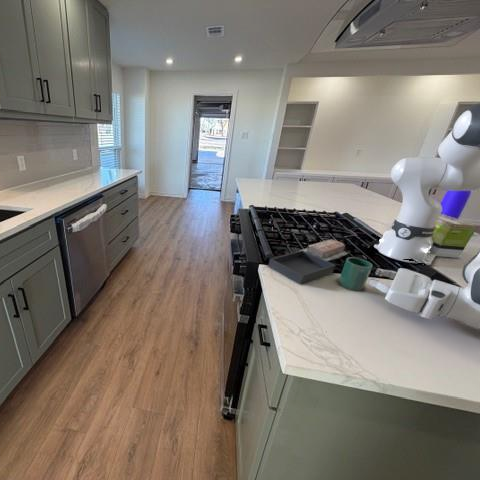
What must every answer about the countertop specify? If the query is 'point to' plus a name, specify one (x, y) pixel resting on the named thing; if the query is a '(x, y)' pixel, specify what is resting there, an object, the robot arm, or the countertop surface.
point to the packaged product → (327, 250)
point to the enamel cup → (355, 273)
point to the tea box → (451, 236)
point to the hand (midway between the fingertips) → (373, 276)
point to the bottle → (454, 203)
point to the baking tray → (301, 266)
